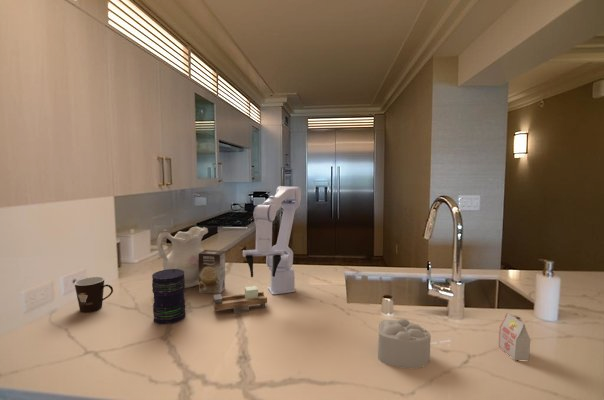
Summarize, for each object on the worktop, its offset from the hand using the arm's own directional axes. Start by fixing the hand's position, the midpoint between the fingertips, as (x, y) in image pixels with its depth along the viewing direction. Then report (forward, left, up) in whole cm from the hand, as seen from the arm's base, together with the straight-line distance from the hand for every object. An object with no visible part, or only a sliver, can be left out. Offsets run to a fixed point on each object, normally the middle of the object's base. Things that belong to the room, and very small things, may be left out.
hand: (262, 276), depth 111 cm
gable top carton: (-57, +51, -11) cm, 78 cm away
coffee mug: (+56, -17, -11) cm, 60 cm away
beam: (+8, -1, -11) cm, 14 cm away
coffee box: (+16, -21, -11) cm, 29 cm away
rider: (+4, -1, -8) cm, 9 cm away
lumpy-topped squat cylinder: (-28, +42, -11) cm, 52 cm away
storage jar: (+31, -2, -11) cm, 33 cm away
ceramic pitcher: (+26, -33, -11) cm, 43 cm away
